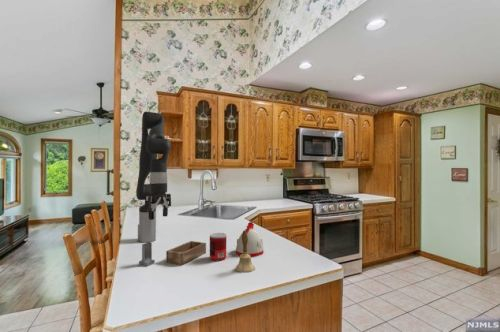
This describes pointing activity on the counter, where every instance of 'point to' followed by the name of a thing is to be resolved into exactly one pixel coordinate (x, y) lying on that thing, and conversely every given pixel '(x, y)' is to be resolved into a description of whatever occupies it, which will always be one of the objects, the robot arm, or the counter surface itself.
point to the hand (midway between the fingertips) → (158, 217)
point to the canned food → (217, 246)
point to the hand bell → (245, 257)
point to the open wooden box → (185, 252)
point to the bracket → (147, 255)
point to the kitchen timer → (250, 242)
